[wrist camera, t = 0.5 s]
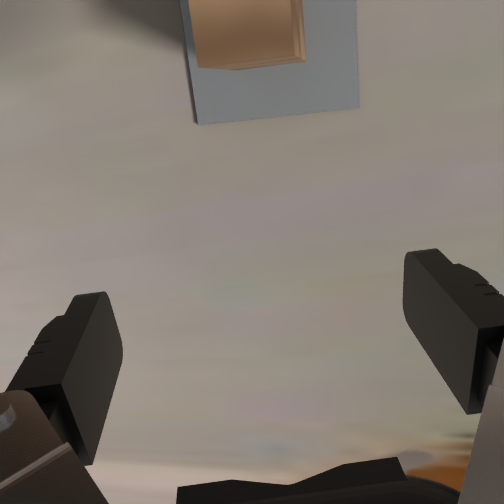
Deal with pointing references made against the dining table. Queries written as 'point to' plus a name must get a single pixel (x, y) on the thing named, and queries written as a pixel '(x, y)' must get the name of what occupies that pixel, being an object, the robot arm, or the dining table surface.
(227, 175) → the dining table surface
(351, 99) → the blue-gray tile
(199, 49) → the walnut block
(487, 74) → the dining table surface
